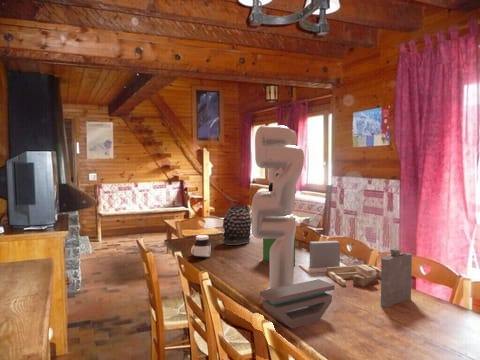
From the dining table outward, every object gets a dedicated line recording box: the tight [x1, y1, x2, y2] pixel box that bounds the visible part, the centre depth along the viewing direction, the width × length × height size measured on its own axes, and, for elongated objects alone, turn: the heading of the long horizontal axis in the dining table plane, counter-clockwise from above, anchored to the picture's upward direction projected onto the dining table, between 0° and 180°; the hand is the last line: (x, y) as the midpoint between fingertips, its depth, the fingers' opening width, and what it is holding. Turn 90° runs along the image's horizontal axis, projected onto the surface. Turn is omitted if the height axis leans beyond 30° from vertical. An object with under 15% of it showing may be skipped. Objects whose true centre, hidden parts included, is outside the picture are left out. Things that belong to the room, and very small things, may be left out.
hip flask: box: [380, 247, 413, 308], centre depth 147 cm, size 16×4×20 cm, turn 123°
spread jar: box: [190, 234, 212, 260], centre depth 216 cm, size 12×11×12 cm
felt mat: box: [298, 261, 347, 274], centre depth 193 cm, size 12×22×1 cm, turn 100°
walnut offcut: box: [352, 272, 379, 288], centre depth 170 cm, size 5×12×4 cm, turn 133°
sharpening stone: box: [259, 278, 336, 329], centre depth 131 cm, size 25×8×11 cm, turn 120°
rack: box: [326, 264, 381, 287], centre depth 176 cm, size 17×22×4 cm
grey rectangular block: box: [309, 240, 341, 268], centre depth 192 cm, size 4×14×12 cm, turn 100°
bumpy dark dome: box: [222, 204, 252, 246], centre depth 250 cm, size 21×15×25 cm
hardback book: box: [262, 217, 296, 266], centre depth 203 cm, size 18×7×24 cm, turn 31°
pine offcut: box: [355, 264, 376, 278], centre depth 170 cm, size 4×9×3 cm, turn 14°
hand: (274, 195), depth 187 cm, fingers open, 9 cm apart
